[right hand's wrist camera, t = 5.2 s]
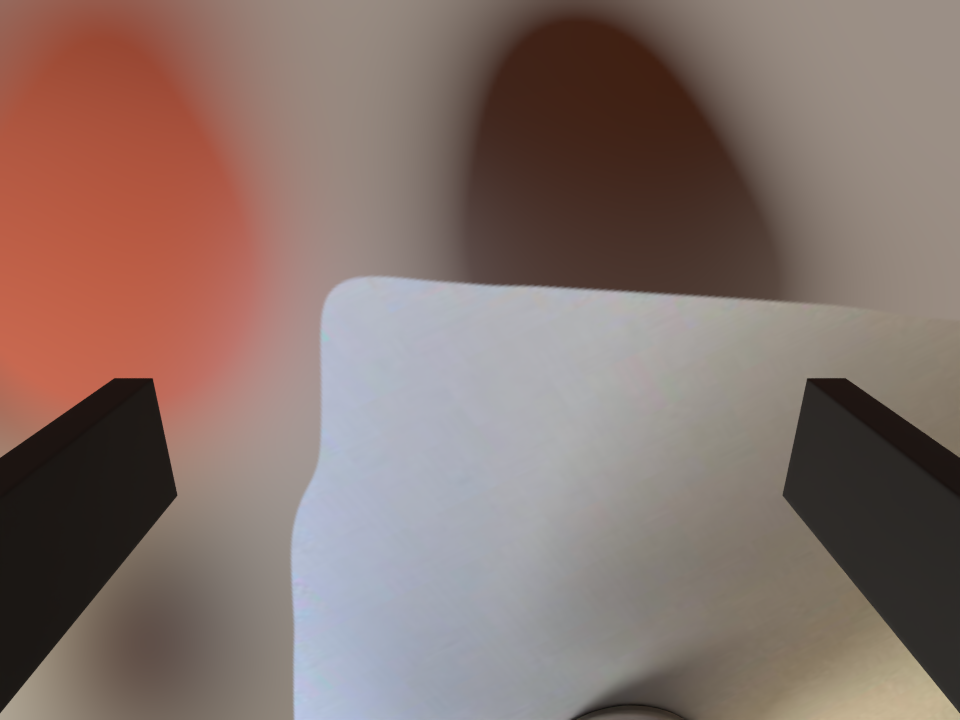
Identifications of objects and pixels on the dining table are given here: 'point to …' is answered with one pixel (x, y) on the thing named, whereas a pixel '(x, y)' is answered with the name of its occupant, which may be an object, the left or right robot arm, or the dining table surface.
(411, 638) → the dining table surface
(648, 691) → the dining table surface
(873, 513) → the right robot arm
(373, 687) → the dining table surface
